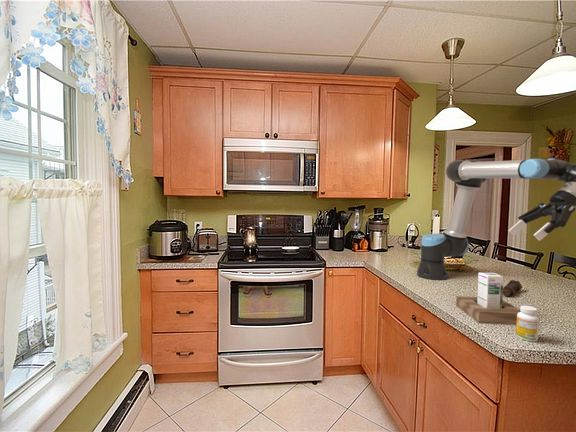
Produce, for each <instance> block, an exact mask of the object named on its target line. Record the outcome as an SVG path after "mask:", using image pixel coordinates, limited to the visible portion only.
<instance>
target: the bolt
mask: <svg viewBox="0 0 576 432" xmlns="http://www.w3.org/2000/svg"><path fill="white" fill-rule="evenodd" d="M522 288H523V286H522V284H521V282H520V281H519V280H515V279H511V280H509V282H508V283H507V284H506V285H505V286H503V296H504V297H513V296H514V295H515V294H516V292H517V293H519V292H520V291H521V290H522Z"/></svg>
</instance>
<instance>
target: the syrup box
mask: <svg viewBox="0 0 576 432" xmlns="http://www.w3.org/2000/svg"><path fill="white" fill-rule="evenodd" d="M477 278H478V281H477V297H478V299H477V303H478V304H479V305H481V306H482V307H484V308H502V300H503V296H504V295H503V288H504V276H503V275H501V274H499V273H497V272H496V273H495V272H478V277H477Z"/></svg>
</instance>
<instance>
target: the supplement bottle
mask: <svg viewBox="0 0 576 432" xmlns="http://www.w3.org/2000/svg"><path fill="white" fill-rule="evenodd" d="M519 309H520V311H521V312H519V313H518V314H517V324H515V326H516V327H515V336H516V337H517V338H518V339H520V338H521V340H522V341H527V342H531V343H532V342H534V343H535V342H537V341H538V340H539V327H540V317H539V316H538V315H537V314H538V308H536V307H534V306H530V305H521V306H520V308H519Z"/></svg>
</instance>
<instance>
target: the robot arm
mask: <svg viewBox="0 0 576 432" xmlns="http://www.w3.org/2000/svg"><path fill="white" fill-rule="evenodd" d="M445 174H446V177H447V179H449V180H450V181H452V182H454V183H455V185H456V187H457V190H456V195H455V198H454V202H453V206H452V210H451V214H450V218H449V221H448V224H447V229H444V230H443V233H429V234H423V236H421V237H422V238H421V243H420V245H421V246H420V262H419V265H418V268H417V269H416V276H417V277H418V278H419V277H420V278H422V279H427V280H435V281H437V280H438V281H441V280H443V281H444V280H447V278H448V273H447V269H446V267H445V258H449V257H460V256H463V255H465V254H466V253H467V252H468V250H469V247H470V243H469V239H468V238H467V237H468V235H467V234H466V228H467V225H468V222H469V218H470V215H471V211H472V206H473V203H474V200H475V197H476V192H477V191H478V190H479V189H481V187H482V184H483V183H485V182H486V181H487V180H488V179H517V180H518V179H519V180H520V179H524V180H526V179H527V180H555V181H559V182H562V183H563V182H564V183H565V184H564V185H563V186H562V187H560V188H559V190H557V191H556V192H555V193H553V194H552V195H551V196H550V197H549V200H550V201H549V202H548V203H547V204H545V203H544V202H541V203H539V204H538V205H537V206H535V207H534V208H532V209H530V210H528V211H527V212H525V213H523V214H521V215H519V216H518V217H517V218H518V222H516V223H515V224H513V226H511V227H510V228H509V229H507V231H508V232H509V233H510V234H511V235H512V236H515V235H517V234H518V233H519V232H521V230H522V229H524V228H525V227H526V226H528V225H527V224H528V223H531V222H533V221H536V220H537V219H539V218H543V217H544V218H545V217H548V216H551V219H550V220H549V222H546V223H545V224H544V225H543V226H542V227H540V229H538V230H537V231H536V232H535V233H534V234H533V237H534V238H536V240H538V241H542V240H543V239H544V238H545V237H546V236H548V235H549V234H551V232H552V231H554V230H555V229H557V228H559V227H561V228H564V227H566V225H567V223H568V222H569V220H570V218H571V215H572V213H574V212H575V211H576V208H575V207H576V163H573V162H570V161H565V160H562V159H560V158H552V157H550V158H547V159H544V158H530V159H529V158H528V159H518V160H517V159H515V160H514V159H513V160H493V161H492V160H490V161H481V160H473V159H455V160H452V161H451V162H449V164H447V167H446V169H445Z"/></svg>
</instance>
